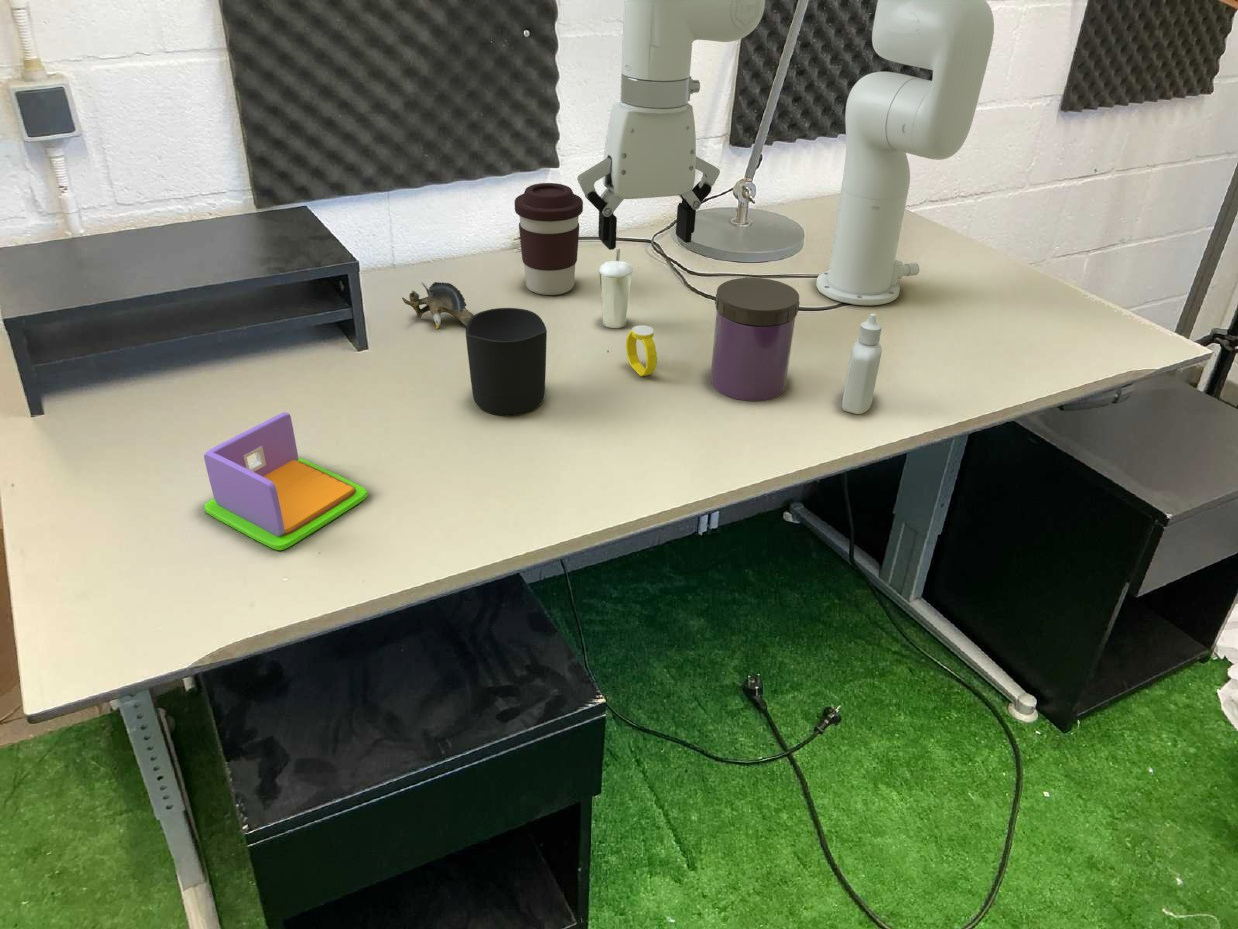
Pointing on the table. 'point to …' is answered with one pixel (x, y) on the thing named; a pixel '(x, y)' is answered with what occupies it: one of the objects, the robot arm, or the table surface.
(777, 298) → the jar lid
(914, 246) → the table surface
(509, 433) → the table surface
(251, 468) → the dollhouse room
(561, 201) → the coffee cup
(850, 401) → the eye dropper bottle
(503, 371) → the pen holder
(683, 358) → the table surface
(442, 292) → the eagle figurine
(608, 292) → the milkshake
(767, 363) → the jar
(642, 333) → the watch
